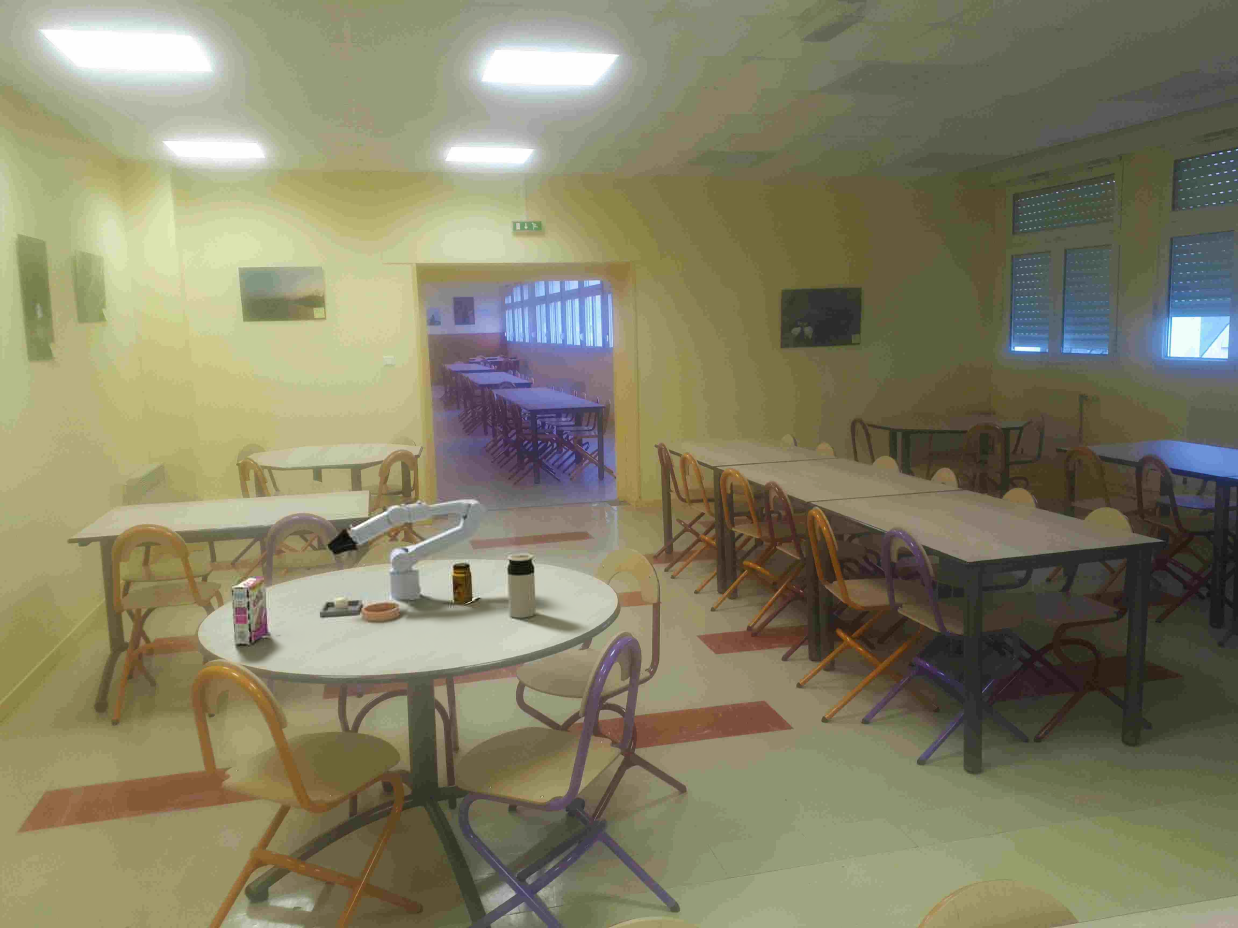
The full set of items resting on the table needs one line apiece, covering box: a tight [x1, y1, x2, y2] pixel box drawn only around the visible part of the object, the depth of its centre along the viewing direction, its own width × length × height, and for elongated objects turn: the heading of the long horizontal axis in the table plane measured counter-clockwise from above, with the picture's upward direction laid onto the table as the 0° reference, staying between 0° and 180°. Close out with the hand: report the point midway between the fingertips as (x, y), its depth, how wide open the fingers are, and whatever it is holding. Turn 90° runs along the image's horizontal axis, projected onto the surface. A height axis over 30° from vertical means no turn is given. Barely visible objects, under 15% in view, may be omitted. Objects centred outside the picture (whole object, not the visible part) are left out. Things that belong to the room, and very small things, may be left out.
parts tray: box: [319, 599, 363, 618], centre depth 274 cm, size 11×11×2 cm
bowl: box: [360, 602, 401, 622], centre depth 268 cm, size 11×11×3 cm
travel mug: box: [507, 553, 537, 619], centre depth 266 cm, size 8×8×18 cm
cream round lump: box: [333, 596, 349, 611], centre depth 274 cm, size 4×4×4 cm
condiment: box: [448, 562, 474, 604], centre depth 283 cm, size 7×8×12 cm
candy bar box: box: [231, 577, 269, 646], centre depth 249 cm, size 11×5×16 cm, turn 178°
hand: (330, 549), depth 279 cm, fingers open, 7 cm apart
